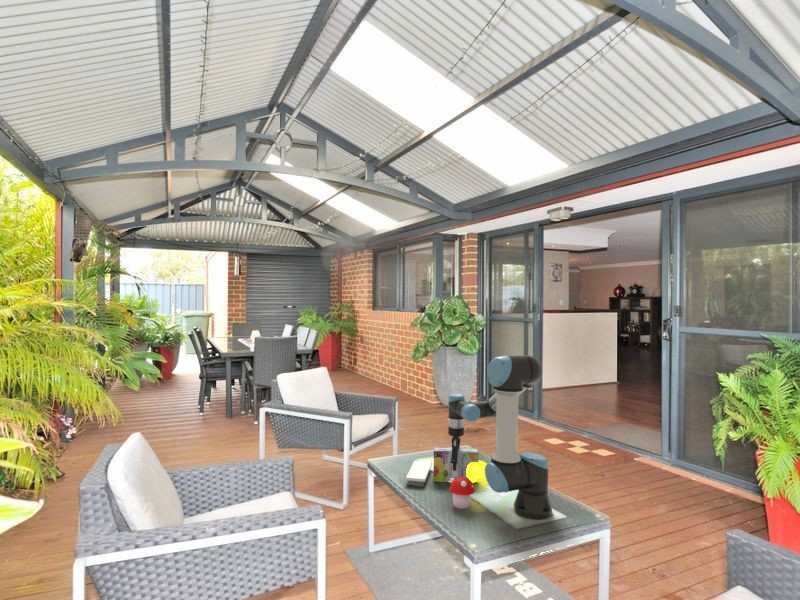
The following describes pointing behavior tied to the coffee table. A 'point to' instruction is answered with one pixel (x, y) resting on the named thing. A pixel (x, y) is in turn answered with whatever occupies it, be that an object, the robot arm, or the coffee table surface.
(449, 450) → the snack box
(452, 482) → the mushroom
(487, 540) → the coffee table surface
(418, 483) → the stand
